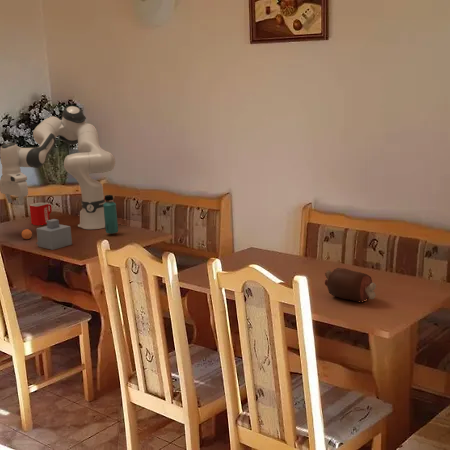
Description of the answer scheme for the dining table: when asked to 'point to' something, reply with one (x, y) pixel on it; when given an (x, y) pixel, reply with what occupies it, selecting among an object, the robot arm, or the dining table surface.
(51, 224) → the gray lidded box
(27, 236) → the ball
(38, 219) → the mug
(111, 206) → the beverage bottle
